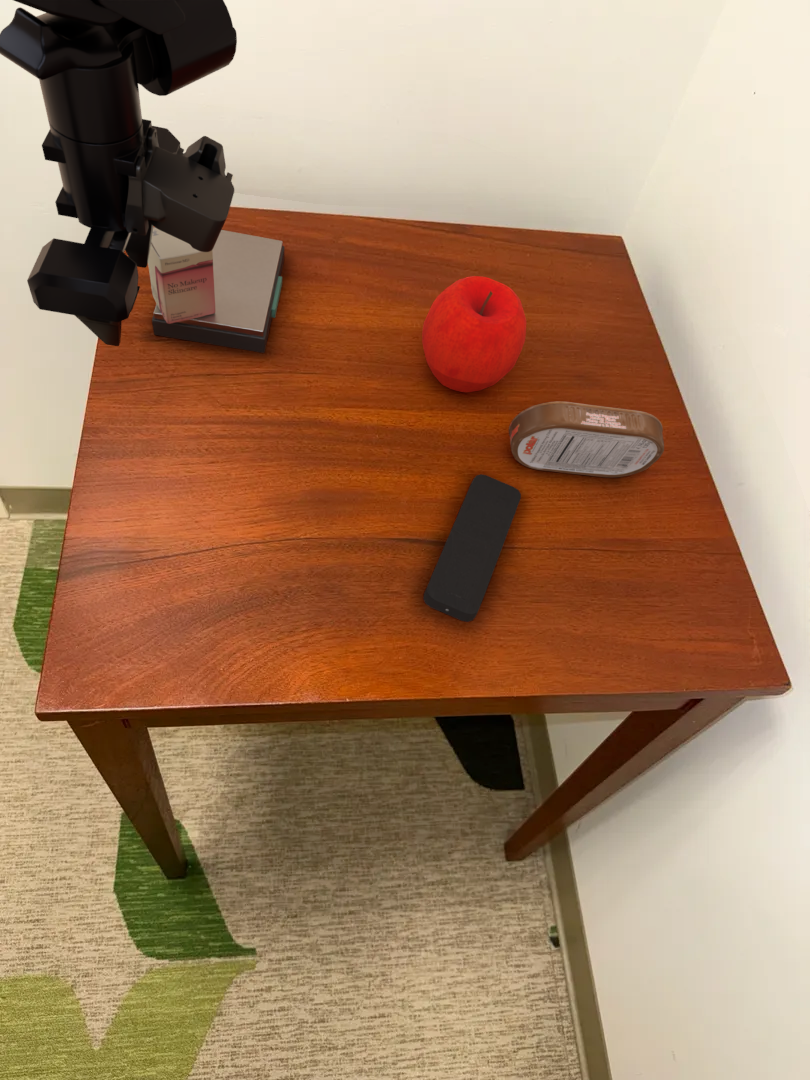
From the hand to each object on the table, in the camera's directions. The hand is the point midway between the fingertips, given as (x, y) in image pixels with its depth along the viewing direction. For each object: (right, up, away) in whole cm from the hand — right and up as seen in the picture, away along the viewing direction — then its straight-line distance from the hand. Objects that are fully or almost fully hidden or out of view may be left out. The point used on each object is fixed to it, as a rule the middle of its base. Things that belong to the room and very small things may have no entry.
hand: (127, 303), depth 62 cm
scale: (+3, +6, +18) cm, 20 cm away
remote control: (+29, -20, +8) cm, 36 cm away
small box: (+1, +4, +13) cm, 14 cm away
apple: (+28, -3, +18) cm, 34 cm away
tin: (+39, -12, +15) cm, 44 cm away
